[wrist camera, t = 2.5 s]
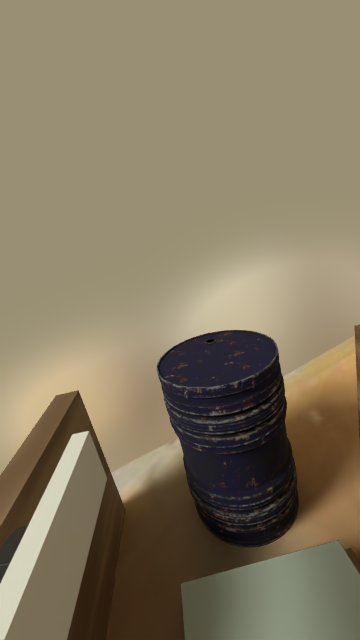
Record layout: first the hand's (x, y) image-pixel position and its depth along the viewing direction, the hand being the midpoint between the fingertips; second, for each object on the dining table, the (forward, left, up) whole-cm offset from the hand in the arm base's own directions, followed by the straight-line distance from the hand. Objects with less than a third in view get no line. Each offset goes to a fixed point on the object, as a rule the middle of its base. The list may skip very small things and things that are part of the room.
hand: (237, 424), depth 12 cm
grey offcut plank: (0, 0, -15) cm, 15 cm away
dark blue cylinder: (0, -10, -16) cm, 19 cm away
